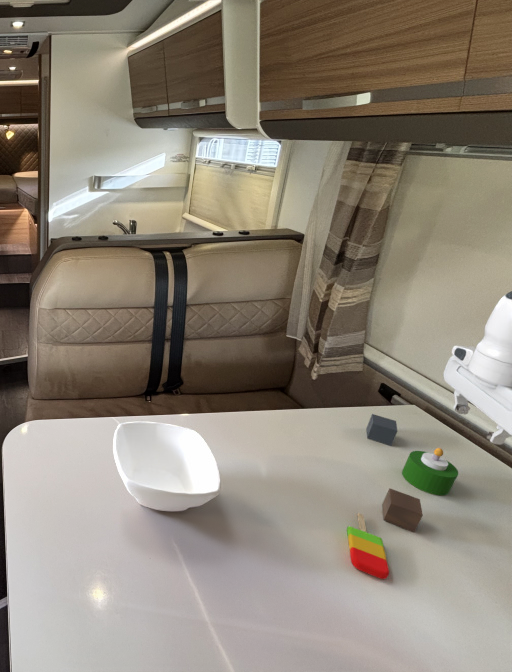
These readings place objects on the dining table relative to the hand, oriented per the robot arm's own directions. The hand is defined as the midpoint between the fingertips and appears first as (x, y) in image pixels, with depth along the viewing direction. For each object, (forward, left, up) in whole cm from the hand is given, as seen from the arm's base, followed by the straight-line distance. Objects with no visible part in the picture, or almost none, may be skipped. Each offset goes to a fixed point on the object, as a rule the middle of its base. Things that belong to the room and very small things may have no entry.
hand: (476, 426), depth 87 cm
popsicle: (+13, +22, -22) cm, 34 cm away
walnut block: (+7, +10, -22) cm, 25 cm away
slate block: (+9, -20, -22) cm, 31 cm away
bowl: (+51, +34, -22) cm, 66 cm away
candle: (+1, -7, -22) cm, 23 cm away
